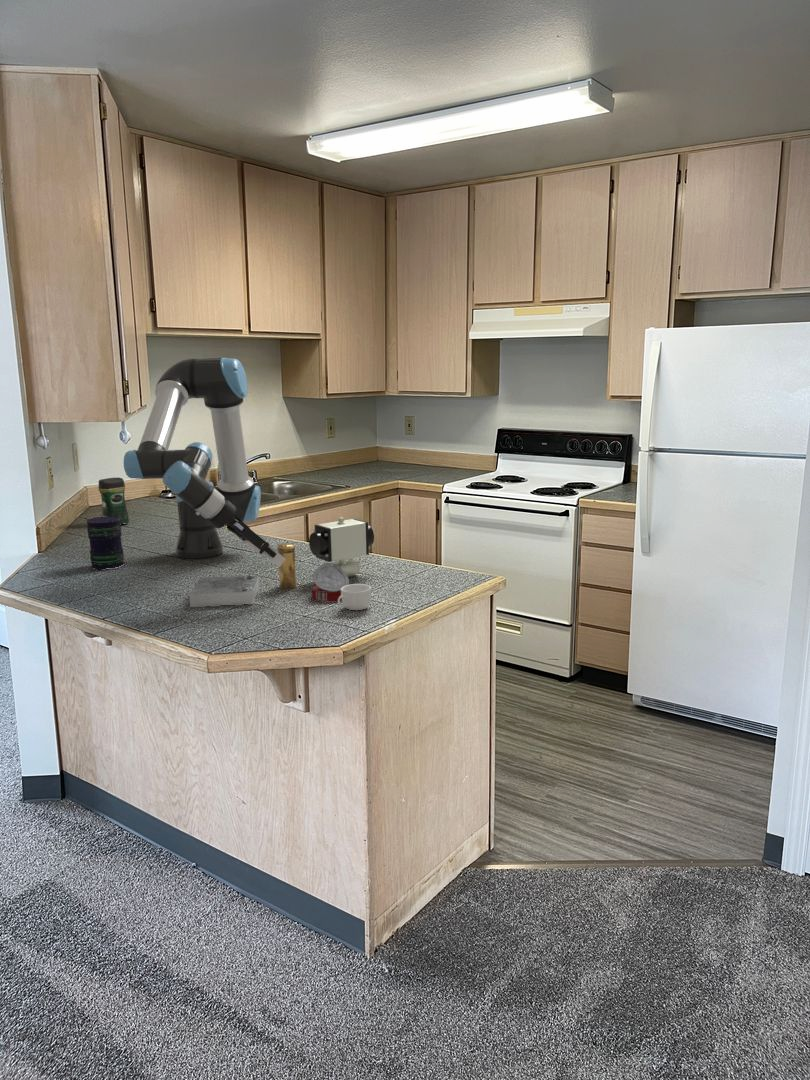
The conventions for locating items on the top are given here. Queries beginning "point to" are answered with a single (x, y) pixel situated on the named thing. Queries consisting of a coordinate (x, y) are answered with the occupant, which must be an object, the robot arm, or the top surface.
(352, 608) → the teacup
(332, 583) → the canned food
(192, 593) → the jig
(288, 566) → the gold metal cylinder
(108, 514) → the coffee jar
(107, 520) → the storage jar
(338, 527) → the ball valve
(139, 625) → the top surface
